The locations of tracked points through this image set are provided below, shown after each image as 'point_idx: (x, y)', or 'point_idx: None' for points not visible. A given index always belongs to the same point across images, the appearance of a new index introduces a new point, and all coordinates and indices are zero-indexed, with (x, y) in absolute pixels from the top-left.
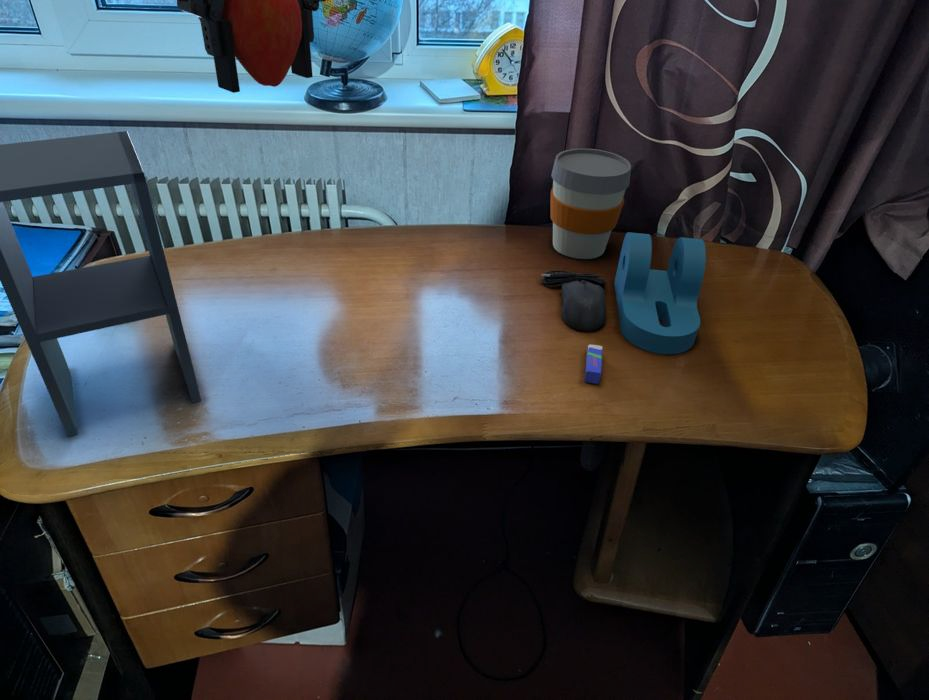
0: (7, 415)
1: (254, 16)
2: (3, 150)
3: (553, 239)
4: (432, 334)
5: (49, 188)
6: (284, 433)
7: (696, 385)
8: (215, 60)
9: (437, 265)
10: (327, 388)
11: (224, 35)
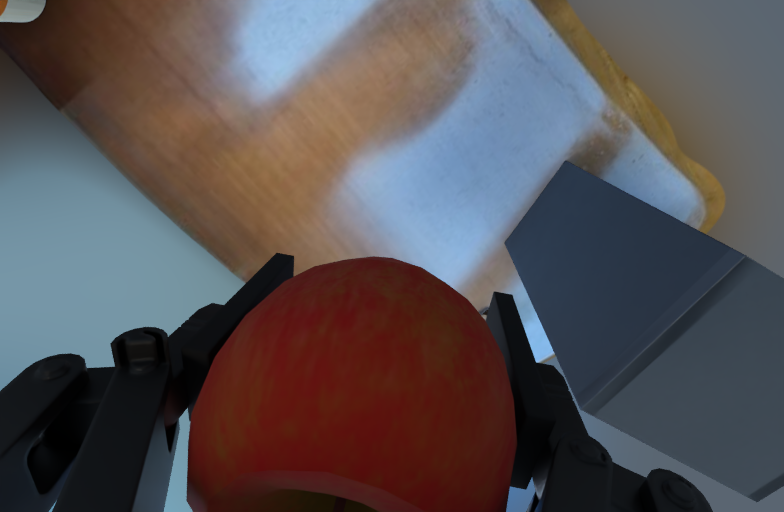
0: None
1: (486, 359)
2: (746, 468)
3: (31, 10)
4: (327, 24)
5: None
6: (568, 45)
7: None
8: None
9: (206, 123)
10: (483, 61)
11: (542, 389)
